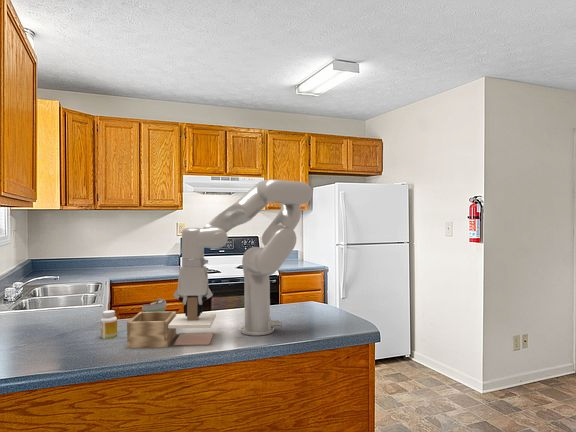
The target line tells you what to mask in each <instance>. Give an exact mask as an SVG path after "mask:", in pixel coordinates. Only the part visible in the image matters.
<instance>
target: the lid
mask: <svg viewBox="0 0 576 432" xmlns="http://www.w3.org/2000/svg"><path fill="white" fill-rule="evenodd" d="M198 303H199V301H198V296H188V297H187V316H185V313H176V316H175V317H174V319H173V320H172V321H171V322H170V323H169V325H168V328H176V329H210V328H211V327H212V325H213V324H214V322H215V320H216V316H217V314H216V313H201V315H200V316H198V315H197V306H198Z"/></svg>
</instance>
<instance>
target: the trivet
mask: <svg viewBox="0 0 576 432" xmlns="http://www.w3.org/2000/svg"><path fill="white" fill-rule="evenodd" d="M213 335H214V333H181V334H179V336H178V337H176V340H175V341H174V342H173V344H172V345H173V346H183V345H184V346H187V345H188V346H189V345H191V346H192V345H195V346H196V345H197V346H198V345H209V344H211V340H212V338H213Z"/></svg>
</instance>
